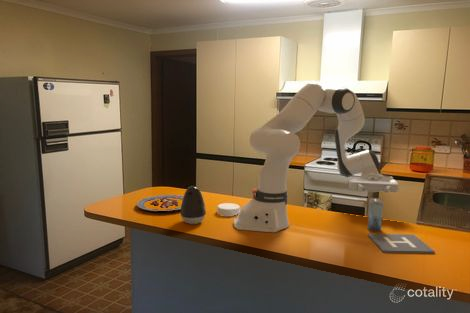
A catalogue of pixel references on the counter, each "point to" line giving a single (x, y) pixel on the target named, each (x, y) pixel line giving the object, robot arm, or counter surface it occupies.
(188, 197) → the black rounded cylinder
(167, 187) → the counter surface
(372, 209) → the canister
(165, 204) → the ceramic plate
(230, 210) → the coaster
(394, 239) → the letter board
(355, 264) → the counter surface
